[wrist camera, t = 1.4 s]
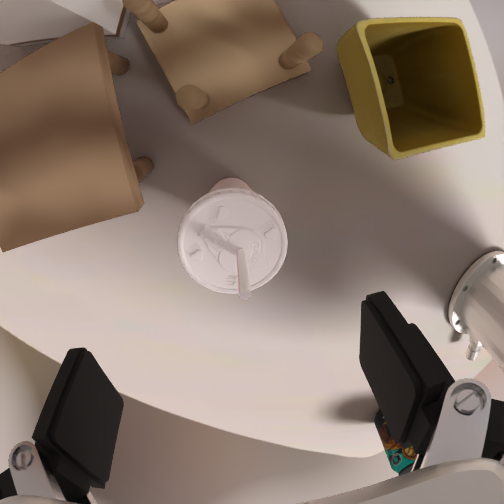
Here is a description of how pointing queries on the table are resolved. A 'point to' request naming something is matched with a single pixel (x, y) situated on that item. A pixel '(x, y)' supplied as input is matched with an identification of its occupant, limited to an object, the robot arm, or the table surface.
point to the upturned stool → (222, 49)
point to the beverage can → (395, 448)
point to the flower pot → (412, 83)
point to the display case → (58, 19)
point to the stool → (64, 141)
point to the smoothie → (232, 239)
